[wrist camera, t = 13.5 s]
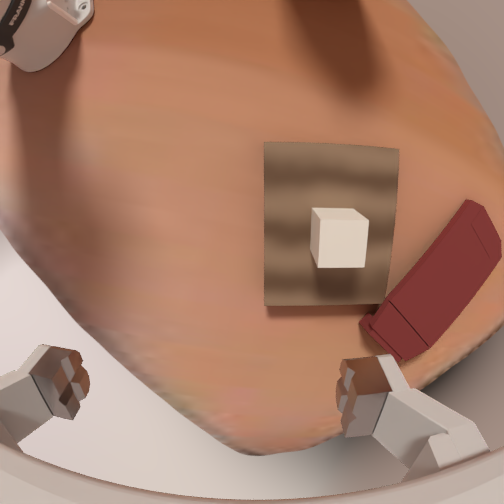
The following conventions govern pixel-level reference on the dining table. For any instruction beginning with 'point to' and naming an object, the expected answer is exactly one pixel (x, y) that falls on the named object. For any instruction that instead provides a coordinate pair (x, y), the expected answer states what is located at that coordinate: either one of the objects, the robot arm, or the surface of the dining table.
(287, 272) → the plinth
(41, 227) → the dining table surface
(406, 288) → the carton
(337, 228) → the cream block
